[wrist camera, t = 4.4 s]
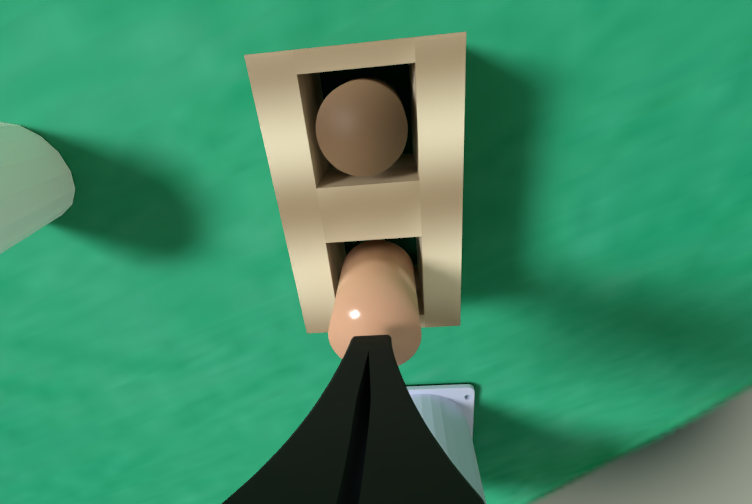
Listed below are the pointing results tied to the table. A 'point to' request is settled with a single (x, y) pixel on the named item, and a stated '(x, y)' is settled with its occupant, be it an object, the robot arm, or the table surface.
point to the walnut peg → (362, 126)
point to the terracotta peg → (377, 299)
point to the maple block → (371, 193)
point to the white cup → (30, 184)
